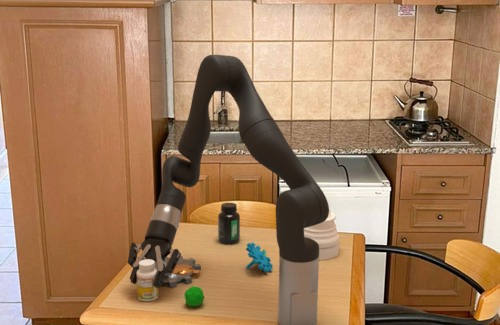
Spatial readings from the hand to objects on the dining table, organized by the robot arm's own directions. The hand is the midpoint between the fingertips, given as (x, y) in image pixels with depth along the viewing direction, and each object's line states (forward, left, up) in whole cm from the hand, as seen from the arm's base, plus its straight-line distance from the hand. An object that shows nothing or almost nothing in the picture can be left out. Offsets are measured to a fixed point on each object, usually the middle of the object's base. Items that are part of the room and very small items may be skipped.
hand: (144, 284), depth 161 cm
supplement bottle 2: (+33, -30, -4) cm, 45 cm away
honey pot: (+18, -54, -5) cm, 57 cm away
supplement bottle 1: (+1, -1, -4) cm, 5 cm away
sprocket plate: (+14, -8, -4) cm, 17 cm away
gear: (+11, -34, -5) cm, 36 cm away
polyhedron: (-6, -12, -5) cm, 14 cm away
